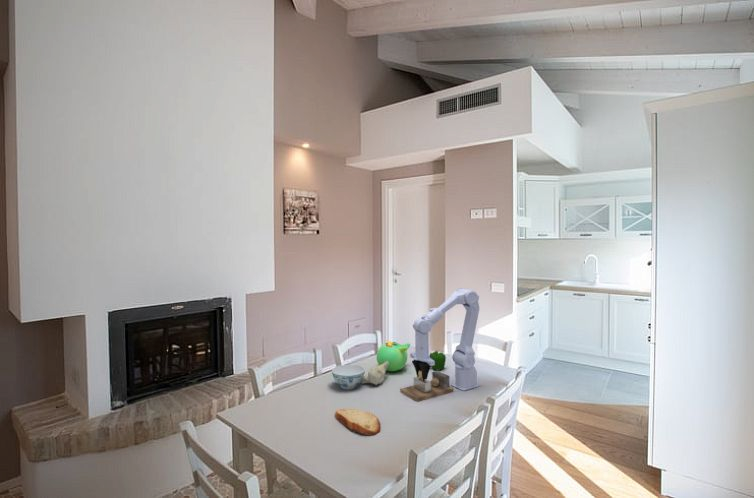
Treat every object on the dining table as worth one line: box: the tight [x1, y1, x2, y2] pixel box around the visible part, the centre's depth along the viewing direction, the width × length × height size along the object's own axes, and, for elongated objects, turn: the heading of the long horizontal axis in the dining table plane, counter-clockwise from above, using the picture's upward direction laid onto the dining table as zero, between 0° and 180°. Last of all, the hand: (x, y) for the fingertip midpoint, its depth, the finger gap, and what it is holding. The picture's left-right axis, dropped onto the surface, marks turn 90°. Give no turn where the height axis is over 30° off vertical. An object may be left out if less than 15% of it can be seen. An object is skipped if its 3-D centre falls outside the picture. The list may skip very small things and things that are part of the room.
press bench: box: [399, 370, 454, 403], centre depth 168 cm, size 20×12×6 cm, turn 122°
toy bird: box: [376, 340, 411, 372], centre depth 197 cm, size 18×17×15 cm
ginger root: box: [359, 361, 389, 386], centre depth 179 cm, size 15×7×15 cm
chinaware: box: [331, 364, 366, 390], centre depth 174 cm, size 15×15×8 cm
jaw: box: [413, 369, 431, 393], centre depth 166 cm, size 3×8×8 cm, turn 32°
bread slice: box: [334, 408, 382, 437], centre depth 139 cm, size 18×18×4 cm
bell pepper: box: [429, 350, 447, 371], centre depth 198 cm, size 8×8×10 cm
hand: (422, 377), depth 166 cm, fingers closed on jaw, 3 cm apart
